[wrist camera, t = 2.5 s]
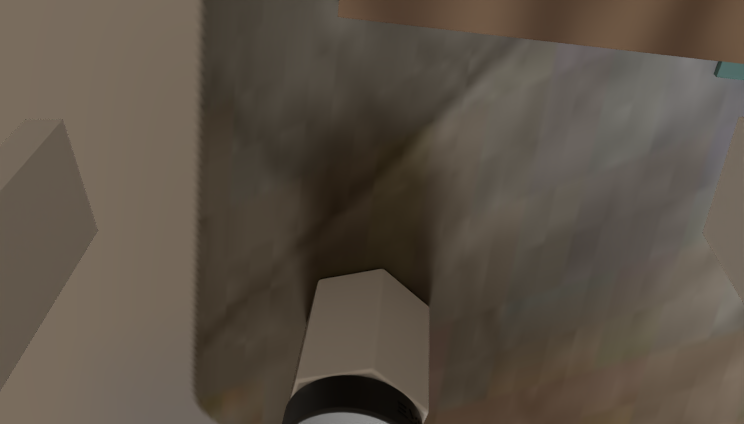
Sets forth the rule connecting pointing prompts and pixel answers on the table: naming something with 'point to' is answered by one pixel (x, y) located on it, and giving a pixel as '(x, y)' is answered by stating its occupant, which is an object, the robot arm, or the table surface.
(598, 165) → the table surface
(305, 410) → the jar
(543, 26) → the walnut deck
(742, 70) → the teal mat
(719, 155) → the table surface
